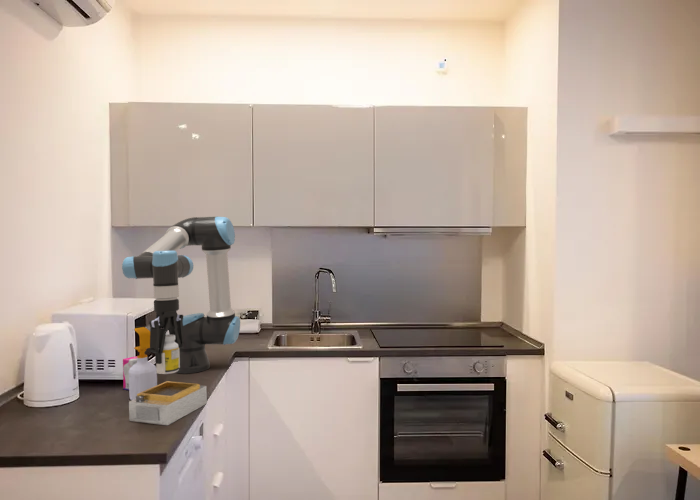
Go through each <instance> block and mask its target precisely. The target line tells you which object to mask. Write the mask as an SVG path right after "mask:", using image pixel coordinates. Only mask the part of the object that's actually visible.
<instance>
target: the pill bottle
mask: <svg viewBox="0 0 700 500" xmlns="http://www.w3.org/2000/svg"><path fill="white" fill-rule="evenodd" d="M175 339H176V338H175V335H172V334H166V337H165V342H164V348H163V352H162V353H165V374H164V375H169V374H175V373H176V372H177V371H178V370H179V346H178V344H177V343H176V342H175Z"/></svg>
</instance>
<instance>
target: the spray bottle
mask: <svg viewBox="0 0 700 500" xmlns="http://www.w3.org/2000/svg"><path fill="white" fill-rule="evenodd" d="M133 330H134V331H135V333H137V334H138V336H139V346H134V347H133V349H134V350H136V351H137V352H138V353H139V355H137V363H136V364H134V365H133V366H132V367H131V368H130V369H129V390H128V391H129V392H128V394H129V395H128V396H129V399H130V400H129V401H131V400H134V399H136V396H137V394H138V393H140V392H143V391H145V390H147V389H150V388H152V387H154V386H157V385H158V374H157V370H156V364H154V363H152V362H150V361H148V360H149V359H148V354H146V351H147V349H150V329H148V328H147V327H146V326H142V327H135V328H134V329H133Z"/></svg>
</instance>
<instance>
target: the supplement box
mask: <svg viewBox="0 0 700 500" xmlns="http://www.w3.org/2000/svg"><path fill="white" fill-rule="evenodd" d="M137 356H138V355H137ZM137 356H131V357H126V358H122V376H123V378H122V379H123V380H122V381H123V383H122V384H123V387H122V388H123V390H125V391H129V369H130V368H131V367H132V366H133V365H134V364H136V363H137Z"/></svg>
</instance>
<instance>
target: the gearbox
mask: <svg viewBox="0 0 700 500" xmlns="http://www.w3.org/2000/svg"><path fill="white" fill-rule="evenodd" d="M207 390H208V389H207V385H201V384H200V383H194V382H192V383H191V382H182V381H169V380H166V381H164V382H162V383H159V384H157V386H154V387H152V388H150V389H147V390H145V391H143V392H140V393H138V394H137V396H136V399H134V400H129V401H128V415H129V419H128V420H129V421H130V422H136V423H143V424H152V425H153V424H154V425H160V426H169V425H171V424H173V423H174V422H176V421H178V420H180V419H181V418H183V417H186V416H187V415H189V414H191V413H193V412H194V411H196V410H198V409H200V408H201V407H203V406H205V405H207V403H208V400H207V398H208V397H207V396H208V395H207V393H208V392H207Z"/></svg>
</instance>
